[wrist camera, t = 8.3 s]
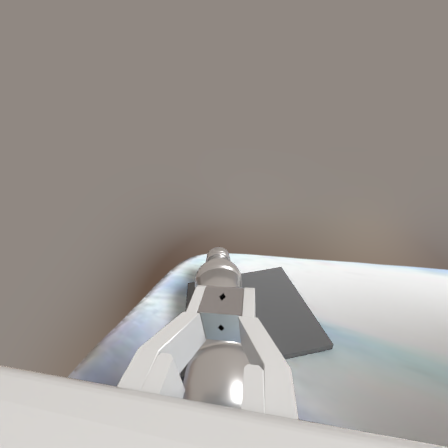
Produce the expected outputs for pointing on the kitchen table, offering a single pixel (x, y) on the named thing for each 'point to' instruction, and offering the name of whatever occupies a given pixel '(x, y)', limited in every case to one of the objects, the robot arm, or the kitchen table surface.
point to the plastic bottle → (217, 345)
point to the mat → (282, 314)
